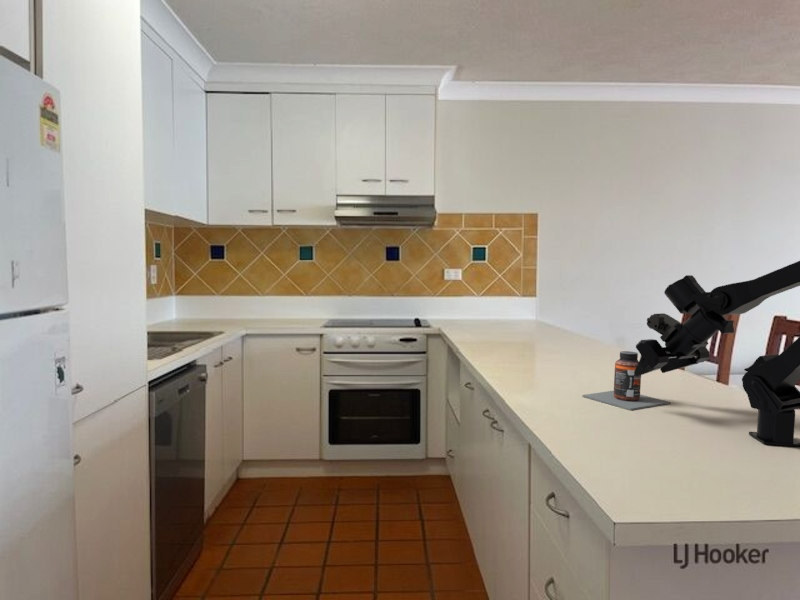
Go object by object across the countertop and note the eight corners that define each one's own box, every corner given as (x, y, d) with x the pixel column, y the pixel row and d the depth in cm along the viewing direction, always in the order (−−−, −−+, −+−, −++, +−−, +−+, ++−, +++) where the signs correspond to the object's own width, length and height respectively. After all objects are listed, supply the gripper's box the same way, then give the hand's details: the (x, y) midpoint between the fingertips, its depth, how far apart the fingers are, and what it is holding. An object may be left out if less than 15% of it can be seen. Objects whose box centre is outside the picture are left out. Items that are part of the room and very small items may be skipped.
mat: (670, 403, 130) (670, 401, 130) (630, 410, 123) (630, 408, 123) (620, 391, 142) (620, 389, 142) (582, 396, 135) (582, 395, 135)
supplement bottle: (637, 402, 128) (639, 355, 127) (610, 399, 131) (612, 352, 131) (642, 397, 133) (644, 351, 132) (616, 394, 136) (618, 349, 136)
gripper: (698, 301, 125) (654, 343, 136) (645, 303, 116) (601, 347, 127) (732, 339, 119) (682, 380, 129) (677, 344, 110) (629, 387, 120)
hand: (648, 372), depth 127 cm, fingers open, 9 cm apart
